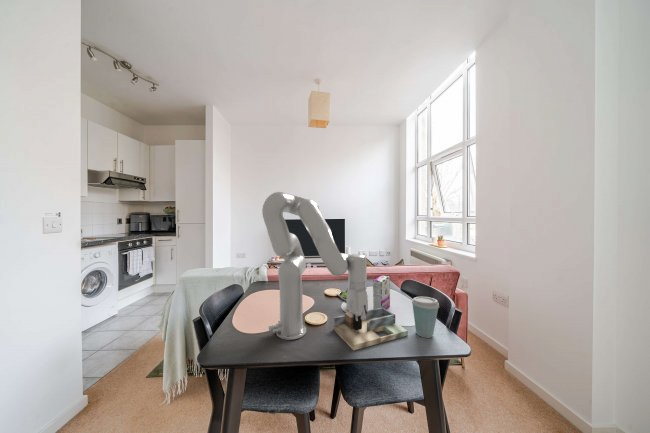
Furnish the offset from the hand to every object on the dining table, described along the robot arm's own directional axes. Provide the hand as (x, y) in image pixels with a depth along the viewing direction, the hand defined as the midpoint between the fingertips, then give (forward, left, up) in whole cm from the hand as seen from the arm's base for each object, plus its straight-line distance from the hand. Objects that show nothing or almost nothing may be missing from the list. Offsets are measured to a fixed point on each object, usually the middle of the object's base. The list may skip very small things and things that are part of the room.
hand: (357, 328), depth 97 cm
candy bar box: (+26, +18, -3) cm, 32 cm away
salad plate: (+21, +40, -4) cm, 46 cm away
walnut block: (+1, +5, -1) cm, 5 cm away
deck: (+6, +1, -3) cm, 7 cm away
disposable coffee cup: (+27, -10, -3) cm, 29 cm away
